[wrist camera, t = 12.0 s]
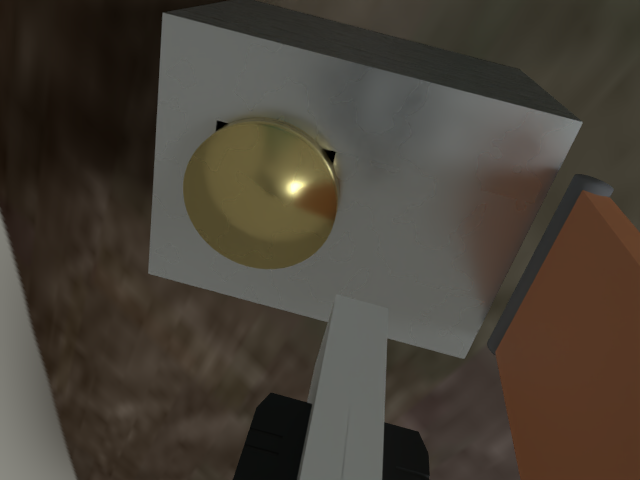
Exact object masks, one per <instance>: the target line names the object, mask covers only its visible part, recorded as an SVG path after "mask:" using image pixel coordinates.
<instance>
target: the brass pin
mask: <svg viewBox="0 0 640 480" xmlns="http://www.w3.org/2000/svg"><path fill="white" fill-rule="evenodd" d="M330 152H331V150H327V149H323V148H322V147H321V146H320V145H319V144H318V143H317V142H316V140H315V139H313V138H312V137H311V136H310V135H309V134H307V133H306V132H304V131H303V130H301V129H300V128H298V127H296V126H294V125H292V124H290V123H287V122H284V121H281V120H278V119H273V118H268V117H250V118H244V119H239V120H236V121H233V122H231V123H228V124H226V125H225V126H223V127H221V128H220V129H218V130H217V131H216V132H214V133H213V134H212V135H211V136H210V137H209V138H207V139H206V140H205V141H204V142H203V143H202V144H201V145H200V146H199V147H198V148H197V149H196V151H195V152H194V154H193V155H192V156H191V158H190V161H189V163H188V165H187V168H186V171H185V174H184V181H183V196H184V202H185V206H186V210H187V213H188V215H189V218H190V220H191V222H192V224H193V226H194V227H195V229H196V230H197V232H198V233H199V235H200V236H201V237H202V238H203V239H204V240H205V242H206V243H207V244H209V245H210V246H211V247H212V248H213V249H214V250H216V251H217V252H218V253H220V254H221V255H223V256H224V257H226V258H228V259H229V260H232V261H234V262H236V263H238V264H241V265H245V266H248V267H253V268H258V269H279V268H286V267H289V266H293V265H295V264H298V263H300V262H302V261H304V260H306V259H308V258H309V257H311V256H312V255H313V254H314V253H316V252H317V251H318V250H319V249H320V248H321V247H322V245H323V244H324V243H325V241H326V240H327V238H328V236H329V235H330V233H331V230H332V228H333V225H334V222H335V218H336V214H337V210H338V205H339V193H340V192H339V183H338V178H337V174H336V171H335V169H334V166H333V164H332V162H331V160H330V158H329V154H330Z"/></svg>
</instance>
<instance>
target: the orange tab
mask: <svg viewBox="0 0 640 480" xmlns="http://www.w3.org/2000/svg"><path fill="white" fill-rule="evenodd" d="M613 190H614V189H613V188H612V187H611V186H610V185H608V184H607V183H605V182H603V181H601V180H599V179H596V178H593V177H590V176H587V175H582V174H576V175H574V177H573V179H572V181H571V183H570V185H569V187H568V189H567V191H566V193H565V195H564V196H563V198H562V200H561V202H560V204H559V206H558V208H557V210H556V212H555V214H554V216H553V218H552V219H551V221H550V223H549V225H548V227H547V229H546V231H545V233H544V235H543V237H542V239H541V241H540V243H539V244H538V246H537V248H536V250H535V252H534V254H533V256H532V258H531V260H530V262H529V264H528V266H527V267H526V269H525V271H524V273H523V275H522V277H521V279H520V281H519V283H518V285H517V287H516V289H515V291H514V292H513V294H512V296H511V298H510V300H509V302H508V304H507V306H506V308H505V310H504V312H503V314H502V315H501V317H500V319H499V321H498V323H497V325H496V327H495V329H494V331H493V333H492V335H491V337H490V339H489V340H488V343H487V346H488V348H489V350H490V351H491V352H492V353H493V354H494V355H495V356H496V359H497V364H498V369H499V374H500V379H501V384H502V389H503V394H504V399H505V404H506V409H507V414H508V419H509V424H510V429H511V434H512V439H513V444H514V449H515V454H516V459H517V464H518V469H519V474H520V479H521V480H640V232H639V231H638V230H637V229H636V228H635V226H634V225H633V224H632V223H631V222H630V221H629V219H628V218H627V217H626V216H625V215H624V213H623V212H622V211H621V210H620V209H619V208H618V206H617V205H616V204H615V203H614V202H613V201H612V199H611V198H610V196H611V194H612V192H613Z"/></svg>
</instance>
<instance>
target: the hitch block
mask: <svg viewBox="0 0 640 480" xmlns="http://www.w3.org/2000/svg"><path fill="white" fill-rule="evenodd" d="M250 117H268V118H273V119H278V120H281V121H284V122H287V123H290V124H292V125H294V126H296V127H298V128H300V129H301V130H303V131H304V132H306V133H307V134H309V135H310V136H311V137H312V138H313V139H315V140H316V142H317V143H318V144H319V145H320V146H321V147H322V148H323V149H327V150H331V151H335V152H336V154H335V158H334V162H333V166H334V169H335V171H336V174H337V178H338V183H339V192H340V193H339V205H338V210H337V214H336V218H335V222H334V225H333V228H332V230H331V233H330V235H329V236H328V238H327V240H326V241H325V243H324V244H323V245H322V247H321V248H320V249H319V250H318V251H317V252H316V253H314V254H313V255H312V256H311V257H309V258H308V259H306V260H304V261H302V262H300V263H298V264H295V265H293V266H289V267H286V268H279V269H258V268H253V267H248V266H245V265H241V264H238V263H236V262H234V261H232V260H229V259H228V258H226V257H224V256H223V255H221V254H220V253H218V252H217V251H216V250H214V249H213V248H212V247H211V246H210V245H209V244H207V243H206V242H205V240H204V239H203V238H202V237H201V236H200V235H199V233H198V232H197V230H196V229H195V227H194V226H193V224H192V222H191V220H190V218H189V215H188V213H187V210H186V206H185V202H184V196H183V181H184V174H185V171H186V168H187V165H188V163H189V161H190V158H191V156H192V155H193V154H194V152H195V151H196V149H197V148H198V147H199V146H200V145H201V144H202V143H203V142H204V141H205V140H206V139H207V138H209V137H210V136H211V135H212V134H213V133H214V132H216V131H217V130H218V129H220V128H221V127H223V126H225V125H226V124H228V123H231V122H233V121H236V120H239V119H244V118H250ZM582 123H583V122H582V121H581V120H580V119H579V118H577V117H576V116H575V115H574V114H573V113H571V112H570V111H569V110H568V109H567V108H565V107H564V106H563V105H562V104H561V103H559V102H558V101H557V100H556V99H555V98H554V97H552V96H551V95H550V94H549V93H548V92H546V91H545V90H544V89H543V88H542V87H540V86H539V85H538V84H537V83H536V82H534V81H533V80H532V79H531V78H530V77H528V76H527V75H526V74H525V73H524V72H522V71H521V70H520V69H517V68H513V67H509V66H505V65H501V64H497V63H494V62H490V61H486V60H482V59H478V58H474V57H471V56H467V55H463V54H459V53H455V52H451V51H447V50H444V49H440V48H436V47H432V46H428V45H424V44H420V43H417V42H413V41H409V40H405V39H401V38H397V37H393V36H390V35H386V34H382V33H378V32H374V31H370V30H366V29H363V28H359V27H355V26H351V25H347V24H343V23H340V22H336V21H332V20H328V19H324V18H320V17H316V16H313V15H309V14H305V13H301V12H297V11H293V10H289V9H286V8H282V7H278V6H274V5H270V4H266V3H262V2H259V1H255V0H229V1H223V2H218V3H212V4H207V5H201V6H196V7H190V8H185V9H179V10H174V11H168V12H163V15H162V33H161V51H160V70H159V88H158V106H157V125H156V143H155V161H154V180H153V198H152V216H151V235H150V253H149V271H148V274H151V275H155V276H159V277H163V278H166V279H170V280H174V281H177V282H181V283H185V284H189V285H192V286H196V287H200V288H203V289H207V290H211V291H215V292H218V293H222V294H226V295H229V296H233V297H237V298H240V299H244V300H248V301H252V302H255V303H259V304H263V305H266V306H270V307H274V308H278V309H281V310H285V311H289V312H292V313H296V314H300V315H304V316H307V317H311V318H315V319H318V320H322V321H326V322H328V320H329V317H330V314H331V310H332V307H333V304H334V300H335V297H336V294H337V295H341V296H345V297H348V298H352V299H356V300H360V301H363V302H367V303H371V304H374V305H378V306H382V307H385V308H388V329H387V338H389V339H392V340H396V341H400V342H404V343H407V344H411V345H415V346H418V347H422V348H426V349H430V350H433V351H437V352H441V353H444V354H448V355H452V356H456V357H459V358H463V359H465V357H466V355H467V353H468V351H469V349H470V347H471V345H472V343H473V341H474V339H475V337H476V335H477V333H478V331H479V329H480V327H481V325H482V323H483V321H484V319H485V317H486V315H487V313H488V311H489V309H490V307H491V305H492V303H493V301H494V299H495V297H496V295H497V293H498V291H499V289H500V287H501V285H502V283H503V281H504V279H505V277H506V275H507V273H508V271H509V269H510V267H511V265H512V263H513V261H514V259H515V257H516V255H517V253H518V251H519V249H520V247H521V245H522V243H523V241H524V239H525V237H526V235H527V233H528V231H529V229H530V227H531V225H532V223H533V221H534V219H535V217H536V215H537V213H538V211H539V209H540V207H541V205H542V203H543V201H544V199H545V197H546V195H547V193H548V191H549V189H550V187H551V185H552V183H553V181H554V179H555V177H556V175H557V173H558V171H559V169H560V167H561V165H562V163H563V161H564V159H565V157H566V155H567V153H568V151H569V149H570V147H571V145H572V143H573V141H574V139H575V137H576V135H577V133H578V131H579V129H580V127H581V125H582Z"/></svg>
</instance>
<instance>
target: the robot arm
mask: <svg viewBox="0 0 640 480" xmlns="http://www.w3.org/2000/svg"><path fill="white" fill-rule="evenodd" d="M387 329H388V308H385V307H382V306H378V305H374V304H371V303H367V302H363V301H360V300H356V299H352V298H348V297H345V296H341V295H337V294H336V297H335V300H334V304H333V307H332V310H331V314H330V317H329V320H328V324H327V327H326V330H325V334H324V337H323V340H322V344H321V347H320V350H319V354H318V357H317V360H316V364H315V368H314V373H313V378H312V382H311V387H310V391H309V396H308V401H307V402H303V401H300V400H296V399H292V398H289V397H285V396H282V395H278V394H274V393H270V394H269V395H268V396H267V397H266V398H265V399H264V400H263V401H262V402H261V403H260V405H259V406H258V407H257V408H256V411H255V414H254V417H253V420H252V423H251V426H250V430H249V432H248V435H247V438H246V442H245V445H244V448H243V451H242V454H241V457H240V460H239V463H238V466H237V469H236V472H235V475H234V478H233V480H429V476H430V473H429V456H428V451H427V449H426V447H425V445H424V443H423V440H422V438H421V436H420V434H419V432H418V431H414V430H410V429H407V428H403V427H399V426H396V425H392V424H388V423H385V422H384V413H385V385H386V357H387Z"/></svg>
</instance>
